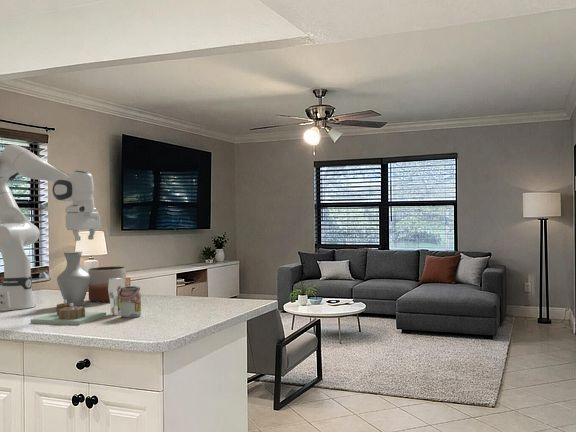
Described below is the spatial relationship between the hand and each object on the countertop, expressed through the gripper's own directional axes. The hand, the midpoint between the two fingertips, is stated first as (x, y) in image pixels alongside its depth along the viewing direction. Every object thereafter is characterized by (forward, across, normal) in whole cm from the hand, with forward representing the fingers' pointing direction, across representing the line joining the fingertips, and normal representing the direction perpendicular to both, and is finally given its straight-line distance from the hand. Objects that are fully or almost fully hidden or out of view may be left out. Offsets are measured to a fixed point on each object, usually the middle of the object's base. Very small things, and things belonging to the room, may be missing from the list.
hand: (84, 240), depth 245 cm
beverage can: (+31, +8, +26) cm, 41 cm away
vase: (+31, -14, -16) cm, 38 cm away
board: (+31, +17, +4) cm, 36 cm away
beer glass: (+31, +3, +17) cm, 36 cm away
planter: (+31, -32, -10) cm, 46 cm away
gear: (+30, +13, -1) cm, 32 cm away
